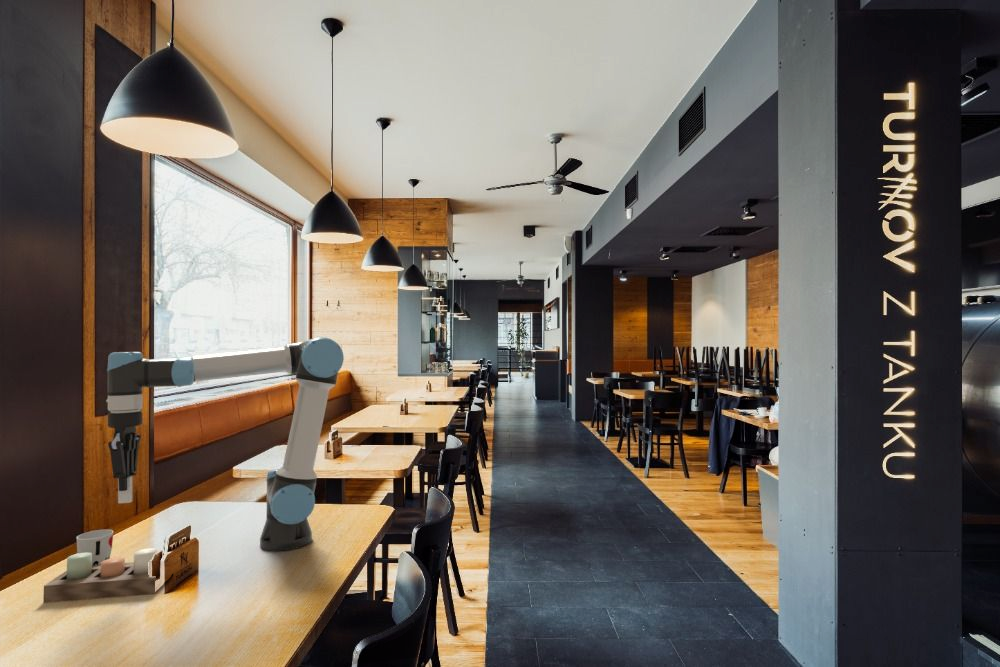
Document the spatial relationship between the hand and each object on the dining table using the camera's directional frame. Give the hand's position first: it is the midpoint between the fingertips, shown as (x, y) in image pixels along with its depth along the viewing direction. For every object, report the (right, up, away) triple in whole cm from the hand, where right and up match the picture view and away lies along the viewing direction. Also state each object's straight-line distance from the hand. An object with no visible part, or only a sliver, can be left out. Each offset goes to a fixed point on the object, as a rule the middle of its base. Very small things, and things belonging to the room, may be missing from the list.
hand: (125, 502), depth 141 cm
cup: (-14, -21, +7) cm, 26 cm away
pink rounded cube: (-1, -19, -3) cm, 19 cm away
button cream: (+6, -17, -2) cm, 18 cm away
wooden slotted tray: (-1, -21, -3) cm, 21 cm away
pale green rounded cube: (-9, -17, -4) cm, 20 cm away
